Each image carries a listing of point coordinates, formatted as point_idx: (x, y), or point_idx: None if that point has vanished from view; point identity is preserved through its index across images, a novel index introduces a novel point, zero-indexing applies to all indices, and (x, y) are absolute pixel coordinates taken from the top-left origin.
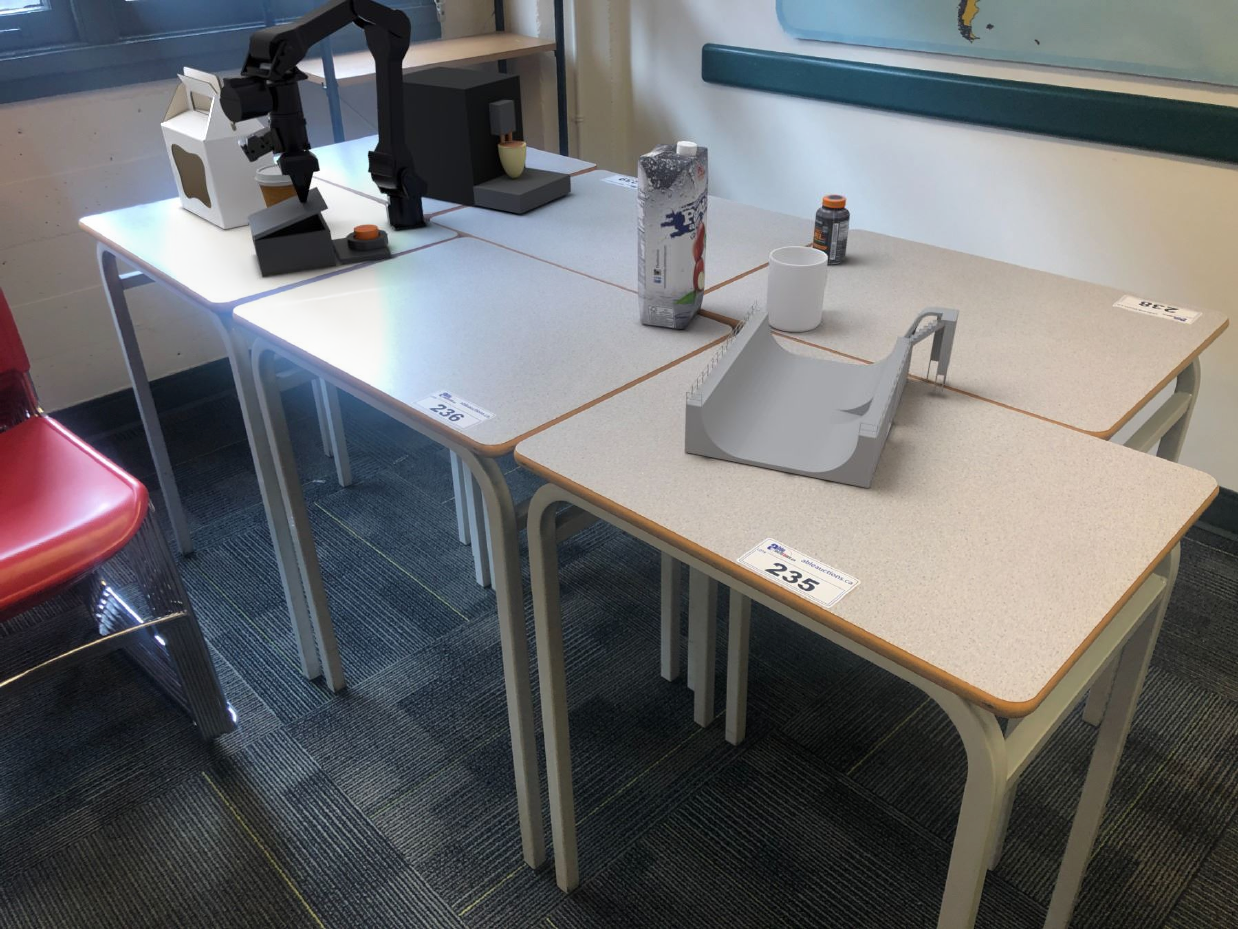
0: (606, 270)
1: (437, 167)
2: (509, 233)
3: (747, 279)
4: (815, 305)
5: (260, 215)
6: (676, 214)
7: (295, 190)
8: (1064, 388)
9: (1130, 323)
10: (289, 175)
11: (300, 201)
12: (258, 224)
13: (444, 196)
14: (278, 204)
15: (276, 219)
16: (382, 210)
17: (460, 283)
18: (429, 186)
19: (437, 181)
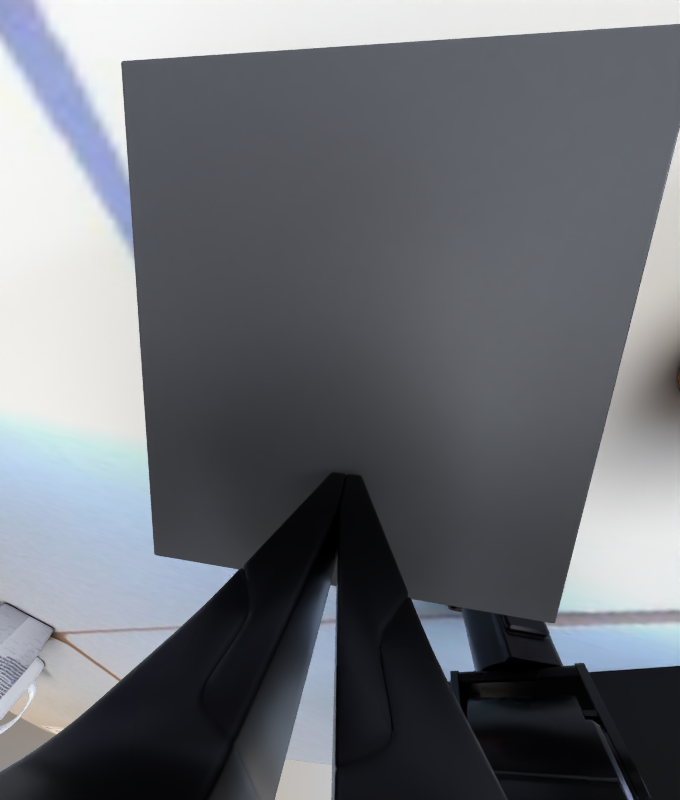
0: (156, 644)
1: (674, 790)
2: (333, 649)
3: (117, 682)
4: None
5: (519, 165)
6: None
7: (276, 532)
8: None
9: (40, 719)
10: (17, 765)
11: (329, 477)
12: (311, 127)
13: (602, 685)
14: (578, 343)
15: (252, 274)
16: (660, 592)
17: (132, 538)
18: (670, 707)
19: (647, 731)
